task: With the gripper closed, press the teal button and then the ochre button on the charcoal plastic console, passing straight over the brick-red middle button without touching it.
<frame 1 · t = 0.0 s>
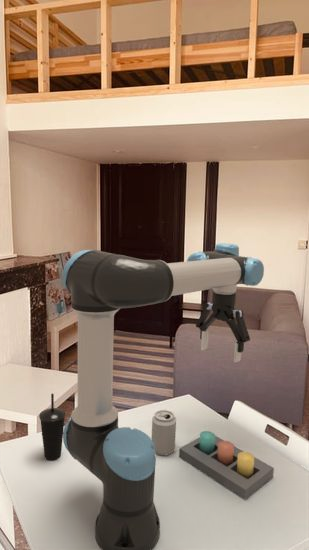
hand: (220, 355, 133), 28 cm above the table, fingers open, 13 cm apart
console: (224, 466, 119), on the table
drinking cup: (52, 456, 122), on the table
can: (162, 450, 127), on the table
teal button: (207, 442, 124), point 4 cm above the table, slide at 0.0 cm
brick button: (225, 453, 119), point 4 cm above the table, slide at 0.0 cm
ochre button: (245, 464, 114), point 4 cm above the table, slide at 0.0 cm
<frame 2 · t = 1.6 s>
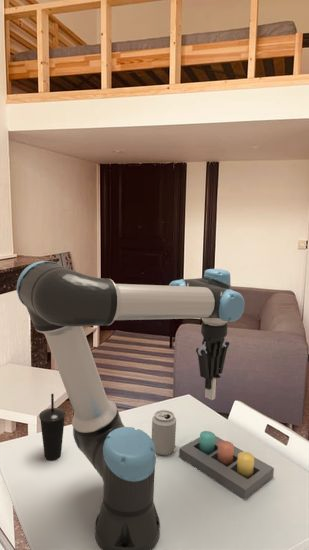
hand: (210, 397, 121), 19 cm above the table, fingers closed
nothing on the table moved.
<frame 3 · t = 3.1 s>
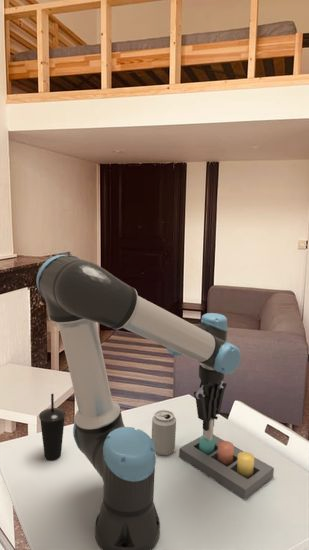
hand: (207, 438, 124), 6 cm above the table, fingers closed
teal button: (206, 446, 124), point 3 cm above the table, slide at 1.3 cm, touching gripper
everything else where it was.
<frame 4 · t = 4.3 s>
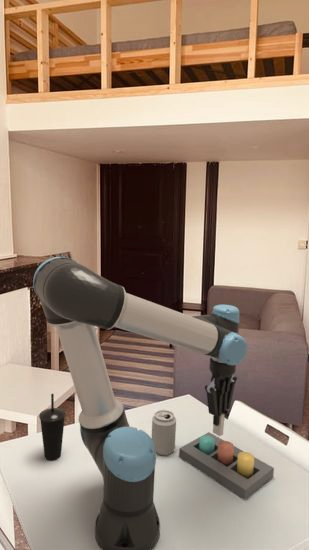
hand: (217, 433, 120), 9 cm above the table, fingers closed
teal button: (206, 447, 124), point 3 cm above the table, slide at 1.5 cm
everything else where it was.
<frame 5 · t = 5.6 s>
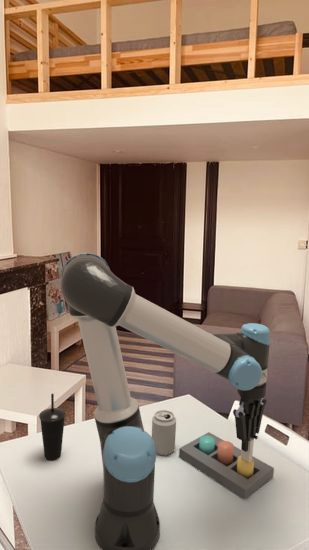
hand: (246, 459, 113), 6 cm above the table, fingers closed
ochre button: (245, 468, 114), point 3 cm above the table, slide at 1.1 cm, touching gripper
everything else where it was.
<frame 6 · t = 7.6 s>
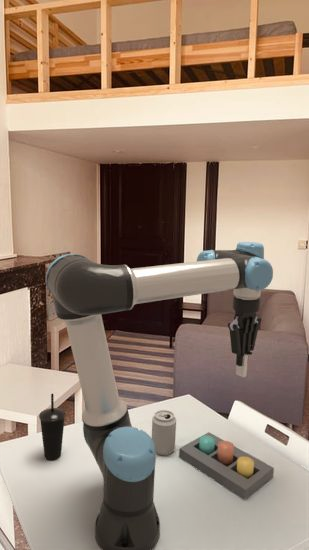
hand: (241, 375, 118), 28 cm above the table, fingers closed
ochre button: (245, 469, 114), point 3 cm above the table, slide at 1.5 cm
everything else where it was.
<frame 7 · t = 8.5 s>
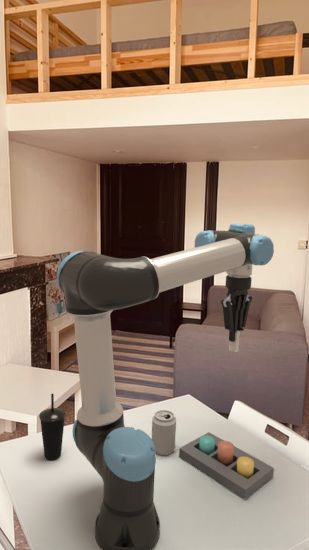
hand: (233, 350, 124), 32 cm above the table, fingers closed
nothing on the table moved.
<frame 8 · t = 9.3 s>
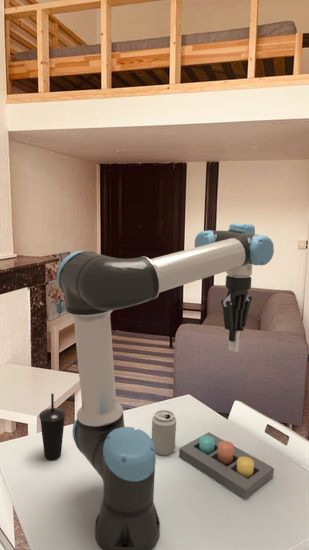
hand: (233, 350, 124), 32 cm above the table, fingers closed
nothing on the table moved.
at the end: teal button slide at 1.5 cm; ochre button slide at 1.5 cm; brick button slide at 0.0 cm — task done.
